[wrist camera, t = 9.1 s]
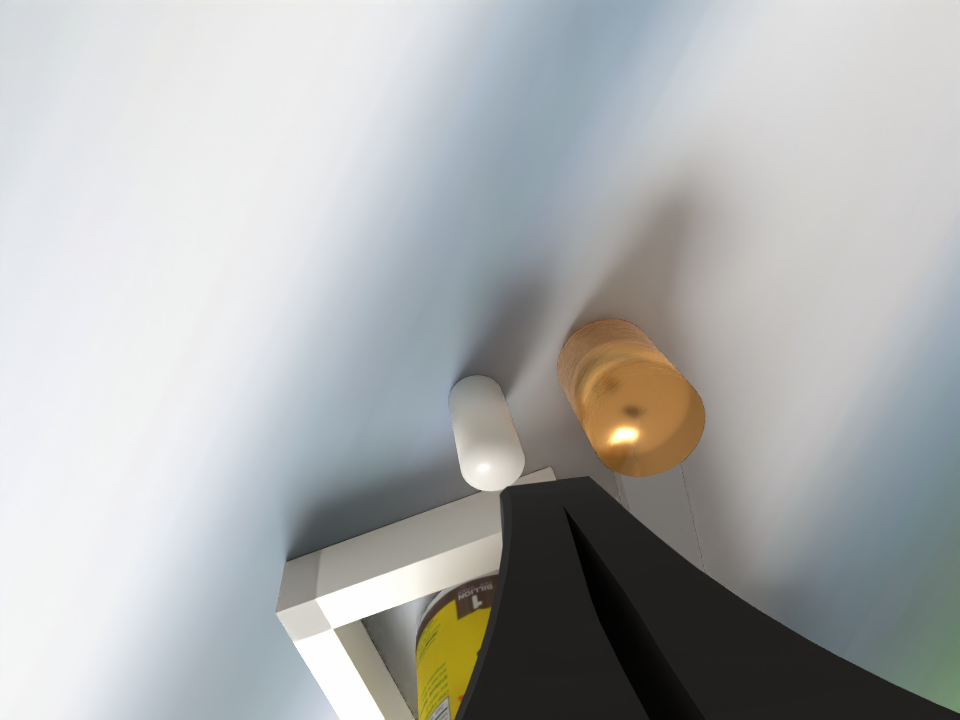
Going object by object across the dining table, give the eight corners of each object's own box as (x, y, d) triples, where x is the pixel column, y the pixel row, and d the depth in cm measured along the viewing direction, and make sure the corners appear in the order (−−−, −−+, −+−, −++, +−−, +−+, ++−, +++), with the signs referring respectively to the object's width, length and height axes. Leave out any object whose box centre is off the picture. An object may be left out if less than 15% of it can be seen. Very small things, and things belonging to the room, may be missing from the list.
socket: (631, 693, 27) (652, 746, 25) (407, 772, 27) (409, 831, 25) (551, 466, 22) (567, 507, 20) (285, 562, 23) (275, 613, 21)
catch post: (510, 413, 21) (532, 477, 18) (459, 432, 22) (472, 499, 18) (493, 367, 21) (513, 426, 18) (440, 386, 21) (450, 448, 18)
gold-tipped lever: (746, 713, 27) (805, 822, 24) (654, 744, 27) (698, 857, 24) (655, 300, 20) (719, 360, 16) (532, 342, 20) (567, 411, 17)
